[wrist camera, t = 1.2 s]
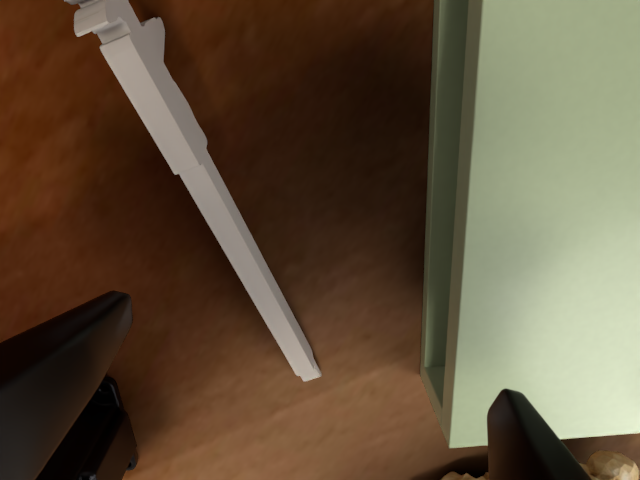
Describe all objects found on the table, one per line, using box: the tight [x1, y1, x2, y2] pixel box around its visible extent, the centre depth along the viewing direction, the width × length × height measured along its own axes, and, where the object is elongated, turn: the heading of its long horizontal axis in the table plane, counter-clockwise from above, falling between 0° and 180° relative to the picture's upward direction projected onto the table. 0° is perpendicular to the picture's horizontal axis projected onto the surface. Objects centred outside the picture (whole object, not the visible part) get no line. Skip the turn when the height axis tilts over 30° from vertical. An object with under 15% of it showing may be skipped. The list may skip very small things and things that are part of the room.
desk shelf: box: [420, 0, 640, 448], centre depth 17 cm, size 11×21×6 cm, turn 3°
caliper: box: [64, 0, 322, 381], centre depth 17 cm, size 20×1×6 cm, turn 20°
